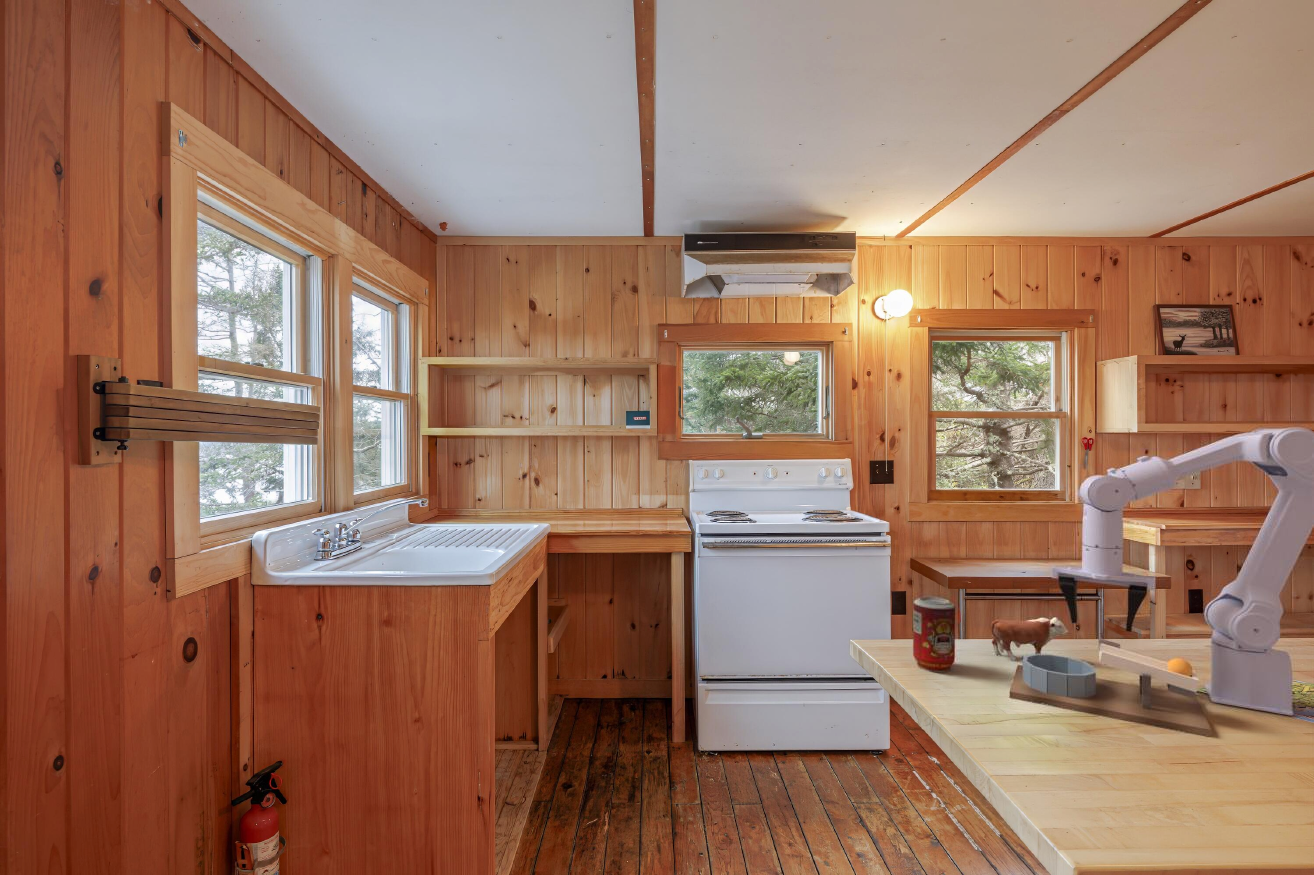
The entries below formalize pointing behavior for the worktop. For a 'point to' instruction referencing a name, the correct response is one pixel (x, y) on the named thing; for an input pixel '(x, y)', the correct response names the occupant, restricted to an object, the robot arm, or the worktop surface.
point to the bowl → (1059, 675)
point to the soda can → (934, 633)
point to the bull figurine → (1025, 633)
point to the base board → (1126, 703)
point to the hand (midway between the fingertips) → (1101, 626)
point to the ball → (1180, 667)
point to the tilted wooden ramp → (1147, 668)
